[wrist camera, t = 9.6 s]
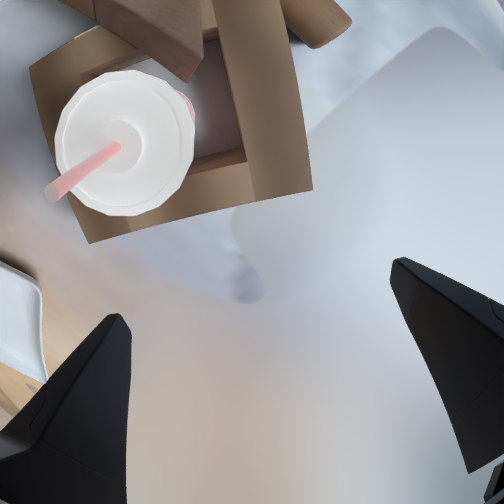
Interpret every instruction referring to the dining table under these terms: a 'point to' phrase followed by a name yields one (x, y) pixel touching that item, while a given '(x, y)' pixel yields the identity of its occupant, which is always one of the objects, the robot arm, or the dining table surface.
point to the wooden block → (200, 26)
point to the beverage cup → (123, 143)
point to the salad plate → (21, 323)
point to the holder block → (245, 104)
